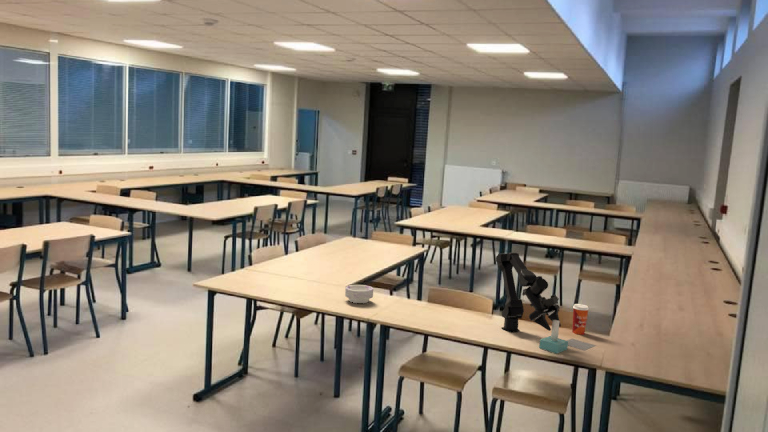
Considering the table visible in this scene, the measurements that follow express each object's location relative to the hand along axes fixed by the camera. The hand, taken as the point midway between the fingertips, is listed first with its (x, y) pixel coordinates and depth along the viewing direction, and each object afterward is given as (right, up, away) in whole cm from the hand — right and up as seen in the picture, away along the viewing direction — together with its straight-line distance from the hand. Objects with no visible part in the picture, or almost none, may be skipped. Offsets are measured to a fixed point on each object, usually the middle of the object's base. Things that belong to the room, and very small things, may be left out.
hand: (555, 328), depth 275 cm
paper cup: (+19, -8, +28) cm, 35 cm away
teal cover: (-1, -9, +1) cm, 9 cm away
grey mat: (+13, -9, +9) cm, 19 cm away
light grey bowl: (-90, +3, +60) cm, 109 cm away
